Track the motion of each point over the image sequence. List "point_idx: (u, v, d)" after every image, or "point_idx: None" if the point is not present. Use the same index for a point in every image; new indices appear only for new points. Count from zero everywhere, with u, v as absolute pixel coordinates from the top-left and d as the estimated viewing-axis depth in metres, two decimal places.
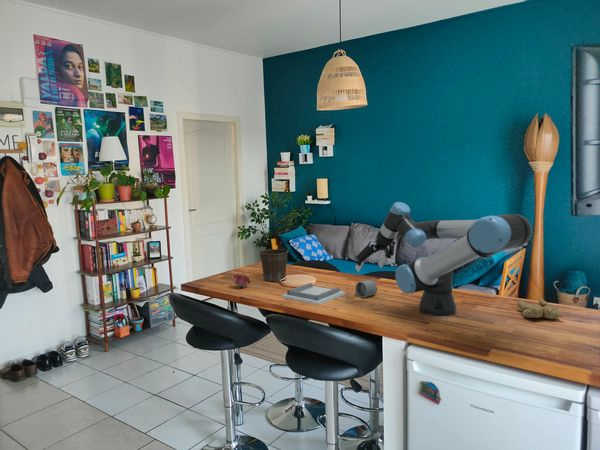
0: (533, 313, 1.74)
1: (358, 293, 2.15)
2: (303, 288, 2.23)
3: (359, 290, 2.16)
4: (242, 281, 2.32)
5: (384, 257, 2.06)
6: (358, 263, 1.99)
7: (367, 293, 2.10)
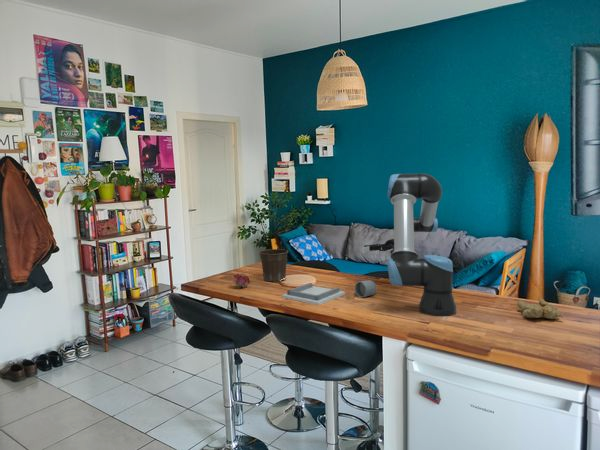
0: (533, 313, 1.74)
1: (357, 293, 2.16)
2: (303, 288, 2.23)
3: (358, 290, 2.17)
4: (242, 281, 2.32)
5: None
6: None
7: (366, 293, 2.11)
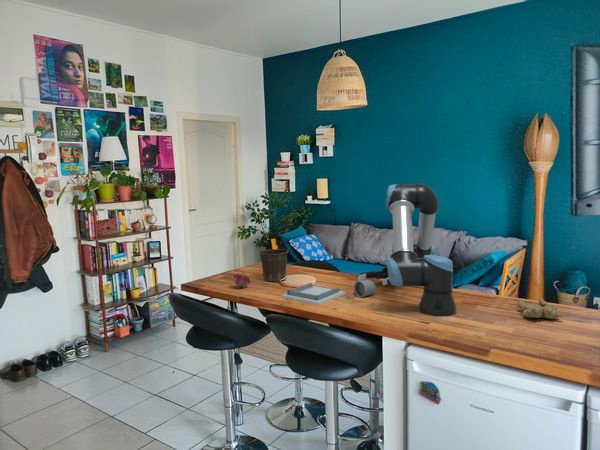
0: (533, 313, 1.74)
1: (357, 293, 2.16)
2: (303, 288, 2.23)
3: (358, 290, 2.17)
4: (242, 281, 2.32)
5: None
6: None
7: (366, 292, 2.11)
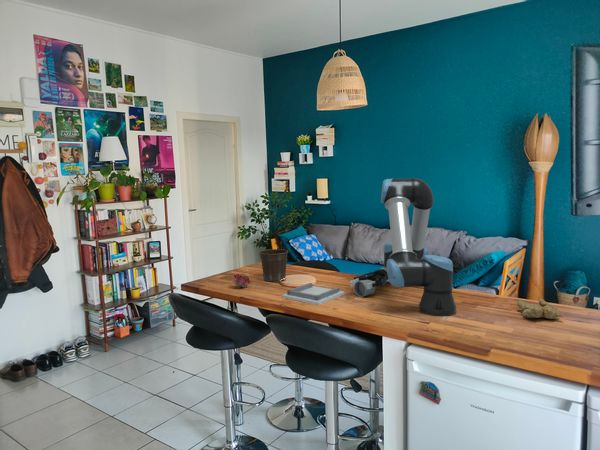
0: (533, 313, 1.74)
1: (357, 292, 2.16)
2: (303, 288, 2.23)
3: (357, 289, 2.17)
4: (242, 281, 2.32)
5: None
6: None
7: (366, 292, 2.11)
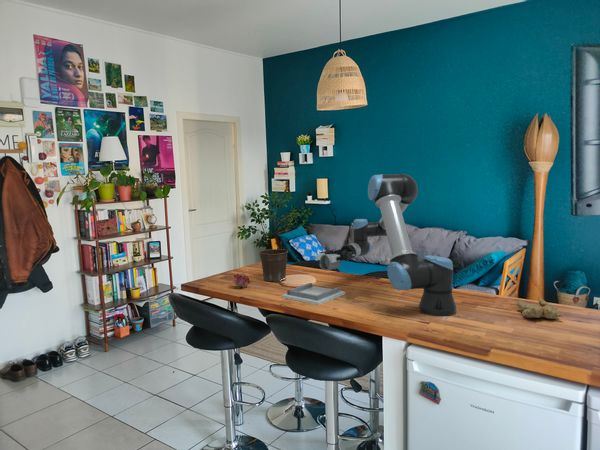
0: (533, 313, 1.74)
1: (322, 266, 2.18)
2: (303, 288, 2.23)
3: (323, 263, 2.19)
4: (242, 281, 2.32)
5: None
6: None
7: (330, 266, 2.13)
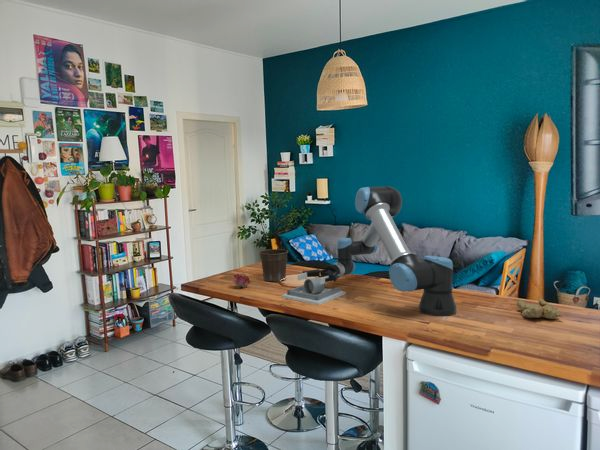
0: (533, 313, 1.74)
1: (306, 290, 2.17)
2: None
3: (307, 287, 2.19)
4: (242, 281, 2.32)
5: None
6: None
7: (314, 290, 2.13)
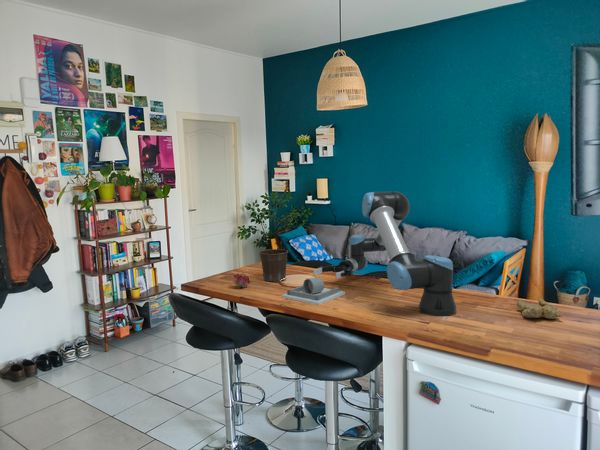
0: (533, 313, 1.74)
1: (306, 290, 2.18)
2: None
3: (307, 287, 2.19)
4: (242, 281, 2.32)
5: None
6: None
7: (314, 290, 2.13)
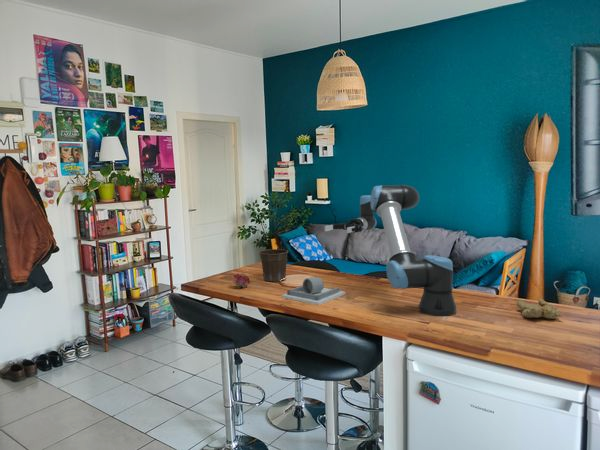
0: (532, 313, 1.74)
1: (305, 290, 2.18)
2: None
3: (306, 287, 2.19)
4: (242, 281, 2.32)
5: None
6: None
7: (313, 290, 2.13)
